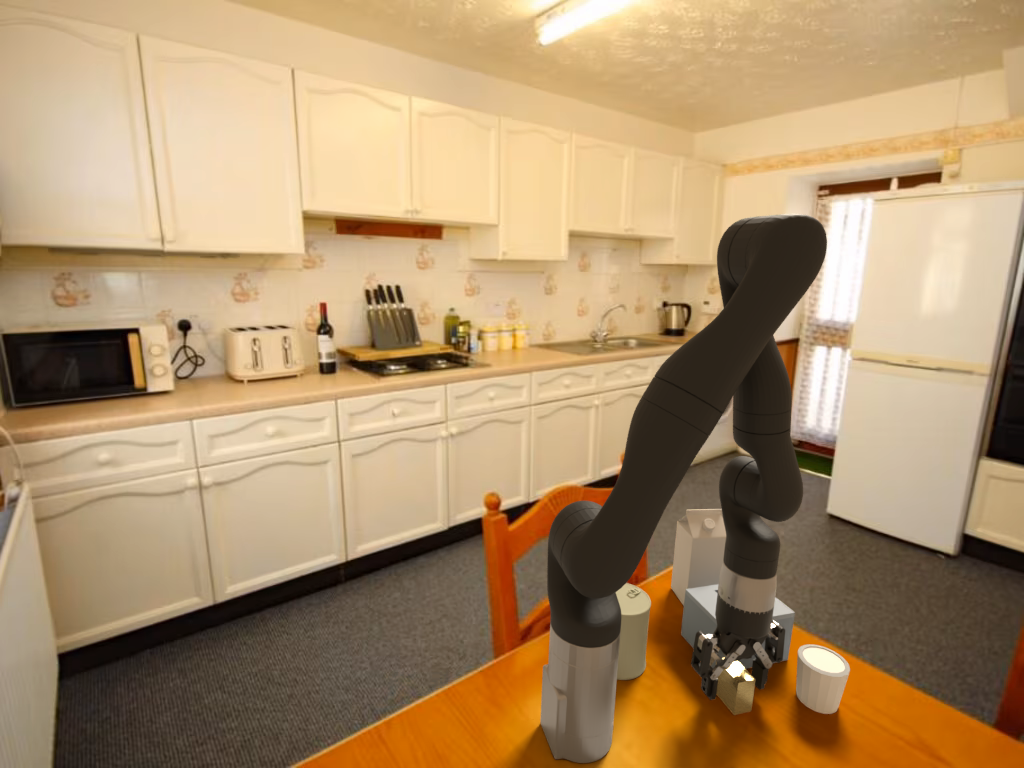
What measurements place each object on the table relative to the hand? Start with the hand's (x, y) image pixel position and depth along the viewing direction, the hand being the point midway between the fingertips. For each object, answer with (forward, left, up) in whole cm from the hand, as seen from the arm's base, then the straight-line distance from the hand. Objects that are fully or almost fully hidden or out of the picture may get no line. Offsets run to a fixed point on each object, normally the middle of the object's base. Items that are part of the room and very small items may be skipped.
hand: (733, 690), depth 79 cm
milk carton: (+10, +24, -2) cm, 26 cm away
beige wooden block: (0, 0, -2) cm, 2 cm away
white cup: (+13, -3, -2) cm, 13 cm away
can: (-13, +12, -2) cm, 18 cm away
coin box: (+8, +10, -2) cm, 13 cm away
